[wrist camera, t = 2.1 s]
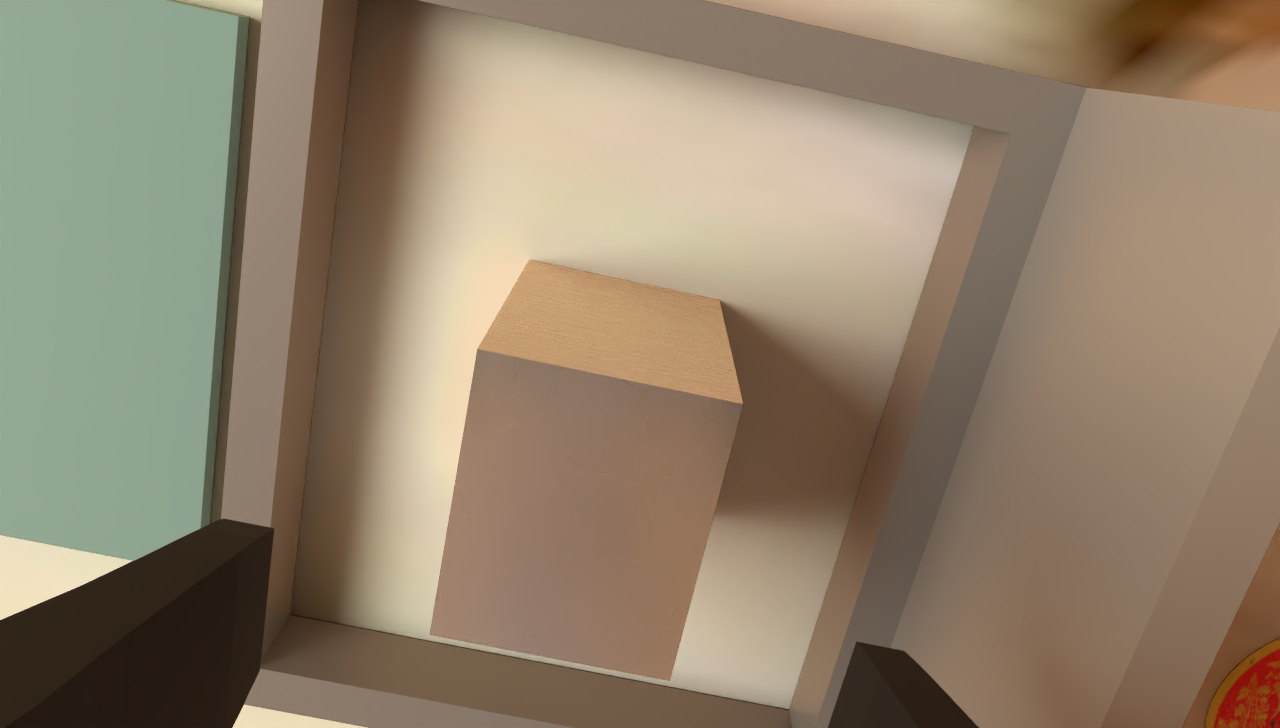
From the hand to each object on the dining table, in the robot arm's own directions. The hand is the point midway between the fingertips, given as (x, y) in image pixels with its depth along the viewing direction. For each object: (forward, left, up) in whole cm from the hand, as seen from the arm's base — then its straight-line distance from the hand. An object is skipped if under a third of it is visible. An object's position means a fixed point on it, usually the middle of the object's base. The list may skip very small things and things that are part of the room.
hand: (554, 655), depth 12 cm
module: (0, 0, -10) cm, 10 cm away
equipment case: (0, 0, -9) cm, 9 cm away
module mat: (0, +12, -9) cm, 15 cm away
